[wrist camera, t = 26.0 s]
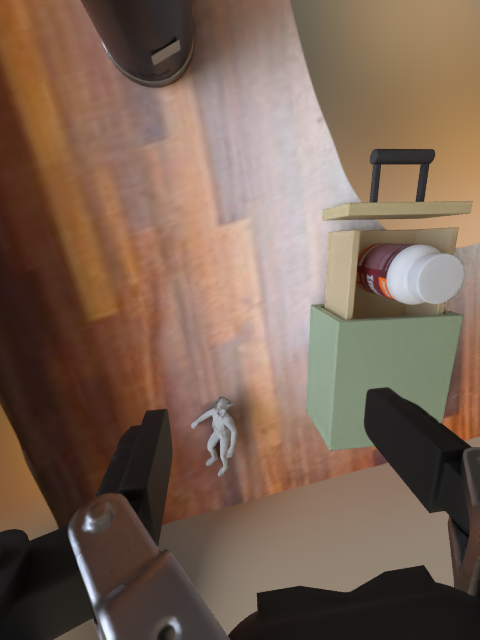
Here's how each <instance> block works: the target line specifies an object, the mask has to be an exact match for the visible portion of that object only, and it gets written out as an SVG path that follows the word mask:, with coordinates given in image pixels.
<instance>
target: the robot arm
mask: <svg viewBox="0 0 480 640" xmlns="http://www.w3.org/2000/svg"><path fill="white" fill-rule="evenodd" d="M81 2H82V3H83V5H84V7H85V9H86V11H87V13H88V15H89V17H90V19H91V20H92V22H93V24H94V26H95V28H96V30H97V32H98V34H99V36H100V38H101V40H102V43H103V45H104V47H105V49H106V51H107V53H108V55H109V57H110V59H111V60H112V62H113V63H114V65H115V66H116V67H117V68H118V69H119V71H120V72H121V73H122V74H124V75H125V76H126V77H127V78H129V79H130V80H132V81H134V82H135V83H138V84H140V85H143V86H147V87H162V86H166V85H169V84H171V83H173V82H174V81H176V80H177V79H178V78H180V77H181V76H182V74H183V73H184V72H185V71H186V69H187V68H188V66H189V64H190V62H191V59H192V56H193V52H194V46H195V31H194V21H193V16H192V0H81ZM364 428H365V432H366V434H367V436H368V438H369V439H370V440H371V442H372V443H373V444H374V445H375V447H376V448H377V449H378V450H379V451H380V453H381V454H382V455H383V456H384V458H385V459H386V460H387V461H388V463H389V464H390V465H391V466H392V467H393V469H394V470H395V471H396V472H397V474H398V475H399V476H400V477H401V478H402V480H403V481H404V482H405V483H406V484H407V486H408V487H409V488H410V490H411V491H412V492H413V493H414V494H415V496H416V497H417V498H418V499H419V501H420V502H421V503H422V504H423V506H424V507H425V508H426V509H427V510H428V512H429V513H433V512H441V511H446V512H447V513H448V514H449V520H448V531H449V540H450V548H451V558H452V567H453V576H454V587H451V586H448V585H444V584H441V583H436V582H435V581H434V580H433V578H432V577H431V575H430V574H429V572H428V571H427V569H426V568H425V566H424V565H422V566H416V567H410V568H404V569H399V570H393V571H387V572H384V573H382V574H380V575H379V576H377V577H375V578H373V579H372V580H370V581H368V582H367V583H365V584H363V585H361V586H360V587H358V588H357V589H355V590H353V591H351V592H337V591H331V590H324V589H317V588H310V587H304V586H296V587H291V588H284V589H278V590H272V591H266V592H260V593H257V607H258V611H256V612H254V613H253V614H251V615H249V616H248V617H247V618H245V619H244V620H243V621H241V622H240V623H239V624H238V625H237V626H236V627H235V628H234V629H233V630H232V631H231V632H230V634H229V635H227V634H226V633H225V631H224V630H223V628H222V627H221V625H220V624H219V622H218V621H217V619H216V618H215V617H214V615H213V613H212V612H211V610H210V609H209V608H208V606H207V605H206V603H205V602H204V600H203V599H202V597H201V596H200V594H199V593H198V592H197V590H196V588H195V587H194V585H193V584H192V583H191V581H190V580H189V579H188V577H187V575H186V574H185V572H184V571H183V569H182V568H181V566H180V565H179V563H178V562H177V561H176V559H175V558H174V556H173V555H172V554H171V553H170V551H168V550H167V549H165V550H164V551H162V552H161V551H160V550H159V548H158V545H159V538H160V532H161V526H162V520H163V514H164V507H165V501H166V495H167V489H168V482H169V476H170V470H171V464H172V454H173V449H172V438H171V430H170V423H169V415H168V410H167V409H159V410H149V411H146V413H145V416H144V419H143V421H142V424H141V425H138V426H131V427H130V428H129V430H128V431H127V432H126V433H125V434H124V435H123V436H122V437H121V439H120V442H119V444H118V446H117V450H116V451H115V453H114V455H113V459H112V460H111V462H110V465H109V467H108V469H107V471H106V474H105V476H104V478H103V481H102V483H101V485H100V487H99V490H98V492H97V494H96V497H95V498H93V499H91V500H90V501H88V502H87V503H85V504H84V505H83V506H82V507H81V508H80V509H79V510H78V511H77V512H76V513H75V514H74V516H73V517H72V519H71V521H70V523H69V524H68V525H66V526H65V527H62V528H60V529H58V530H56V531H53V532H51V533H48V534H46V535H43V536H41V537H38V538H36V539H33V540H31V541H29V539H28V536H27V534H26V533H25V532H24V531H22V530H16V529H12V530H6V531H3V532H0V640H53V639H55V638H57V637H58V636H60V635H62V634H64V633H66V632H68V631H70V630H71V629H73V628H75V627H77V626H79V625H81V624H82V623H84V622H86V621H88V620H90V619H93V622H94V625H95V628H96V631H97V634H98V637H99V639H100V640H480V448H479V447H471V446H470V445H468V444H467V443H466V442H465V441H463V440H462V439H461V438H459V437H458V436H457V435H456V434H454V433H453V432H452V431H451V430H449V429H448V428H447V427H445V426H444V425H443V424H442V423H439V422H438V420H437V419H435V418H434V417H433V416H431V415H429V413H428V412H426V411H425V410H424V409H423V408H421V407H420V406H419V405H417V404H415V403H413V402H411V401H409V400H407V399H404V398H402V397H401V396H399V395H398V394H397V393H396V392H394V391H393V390H392V389H391V388H389V387H384V388H374V389H369V390H368V391H367V393H366V403H365V413H364Z"/></svg>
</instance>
